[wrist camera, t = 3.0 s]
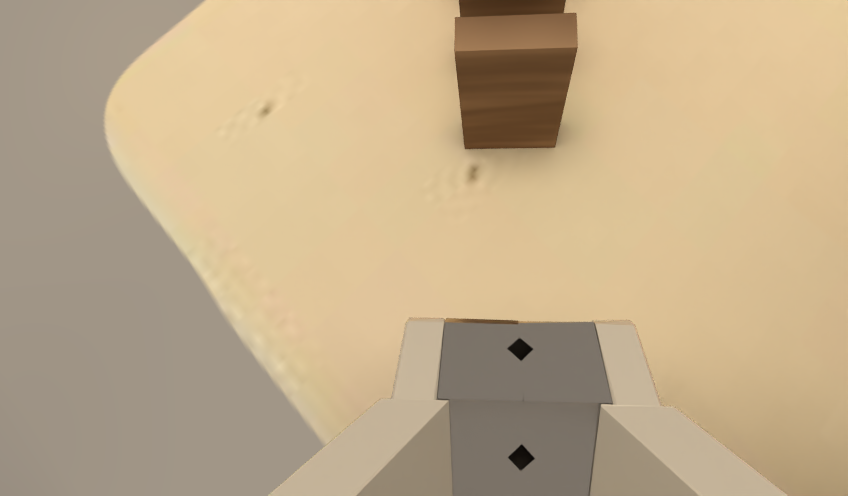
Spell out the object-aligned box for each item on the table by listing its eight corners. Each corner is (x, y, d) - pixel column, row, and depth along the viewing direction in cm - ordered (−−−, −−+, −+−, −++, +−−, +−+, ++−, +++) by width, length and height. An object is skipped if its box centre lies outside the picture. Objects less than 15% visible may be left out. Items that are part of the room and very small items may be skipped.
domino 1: (552, 75, 37) (573, -47, 27) (465, 77, 37) (455, -41, 28) (552, 50, 37) (572, -79, 27) (465, 53, 38) (456, -72, 28)
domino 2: (554, 147, 35) (577, 47, 26) (464, 148, 36) (454, 51, 26) (554, 121, 36) (576, 13, 26) (465, 122, 36) (455, 17, 27)
